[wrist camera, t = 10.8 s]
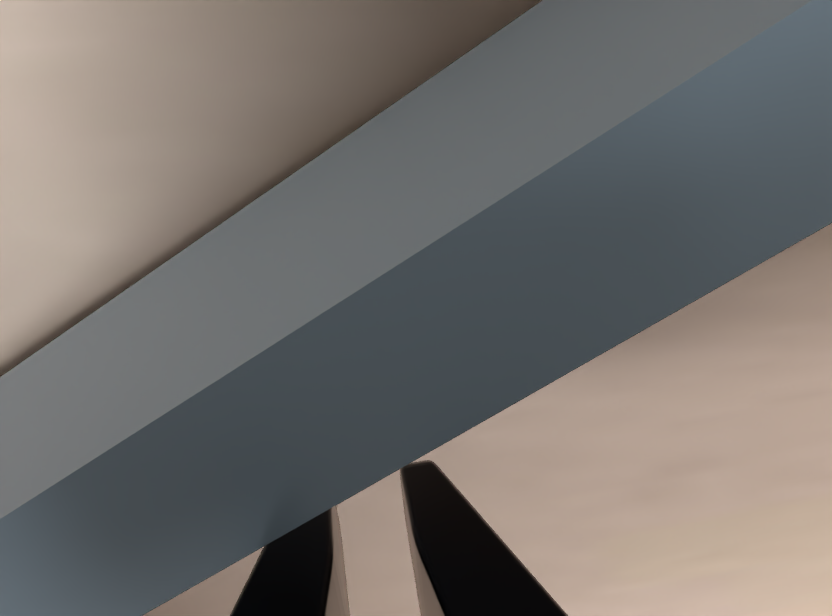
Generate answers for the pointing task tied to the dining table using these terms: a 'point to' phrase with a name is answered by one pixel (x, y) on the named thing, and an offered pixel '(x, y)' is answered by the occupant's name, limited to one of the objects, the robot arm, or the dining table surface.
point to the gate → (411, 288)
